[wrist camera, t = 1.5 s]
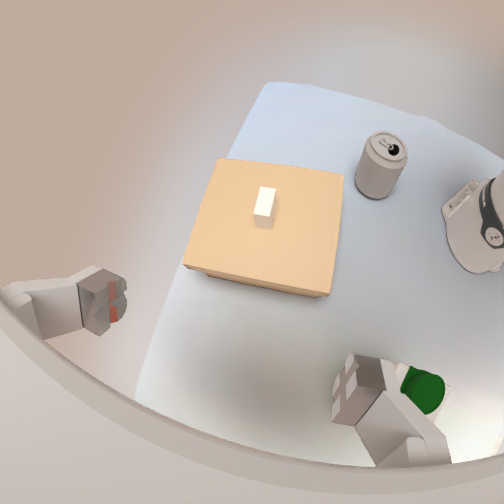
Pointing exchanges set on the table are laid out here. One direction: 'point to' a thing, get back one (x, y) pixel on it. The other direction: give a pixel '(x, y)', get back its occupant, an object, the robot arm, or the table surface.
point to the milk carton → (422, 389)
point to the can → (380, 164)
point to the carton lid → (269, 225)
